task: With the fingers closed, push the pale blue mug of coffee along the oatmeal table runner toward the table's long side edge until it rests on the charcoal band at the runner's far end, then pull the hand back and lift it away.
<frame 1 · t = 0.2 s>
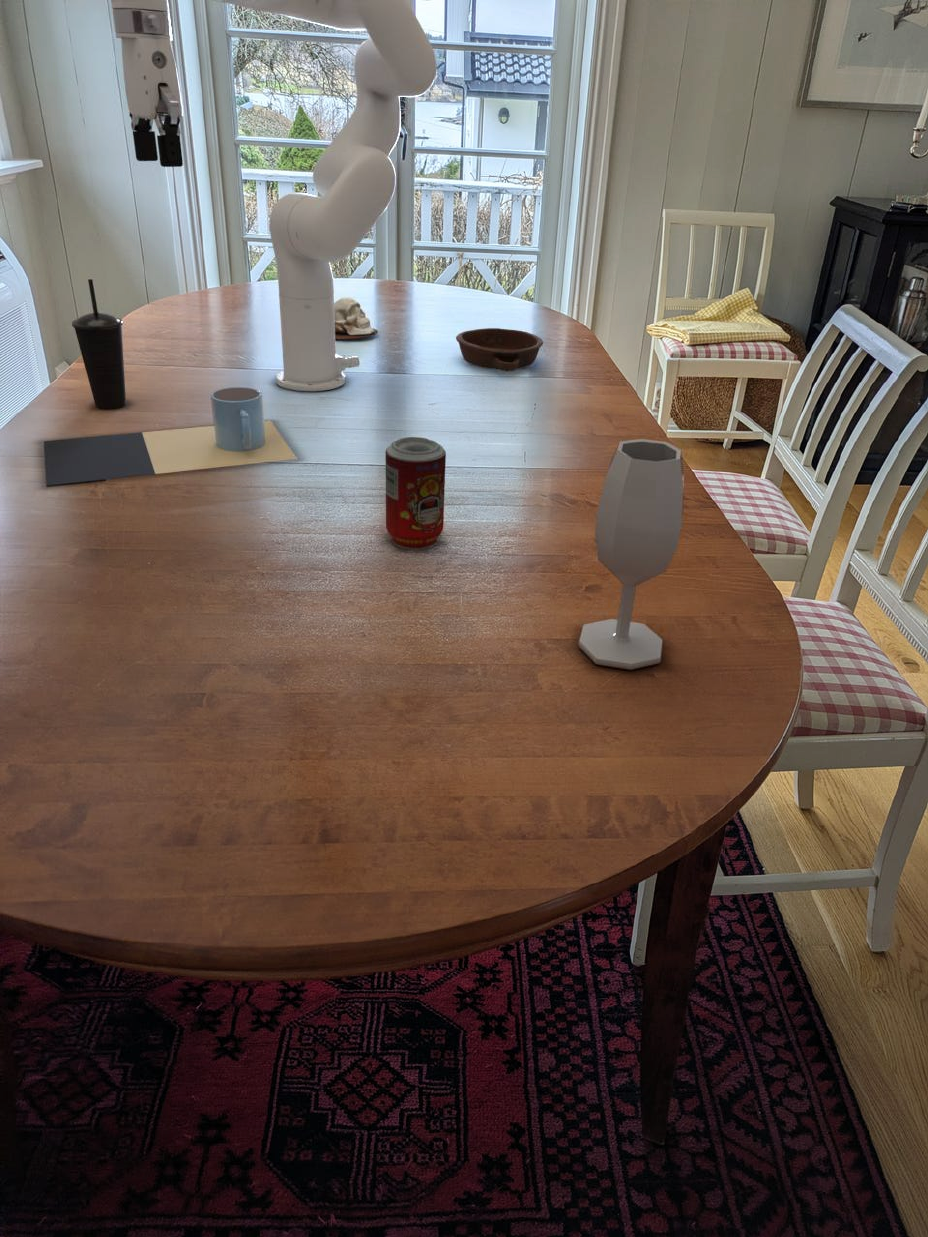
hand: (159, 163, 135), 36 cm above the table, tool pointing down, fingers open, 9 cm apart
wineglass: (619, 649, 92), on the table
skull: (350, 335, 199), on the table
drinking cup: (111, 406, 151), on the table
mug: (240, 442, 138), resting on runner
dish: (498, 363, 183), on the table
runner: (169, 451, 134), on the table
soda can: (414, 541, 112), on the table
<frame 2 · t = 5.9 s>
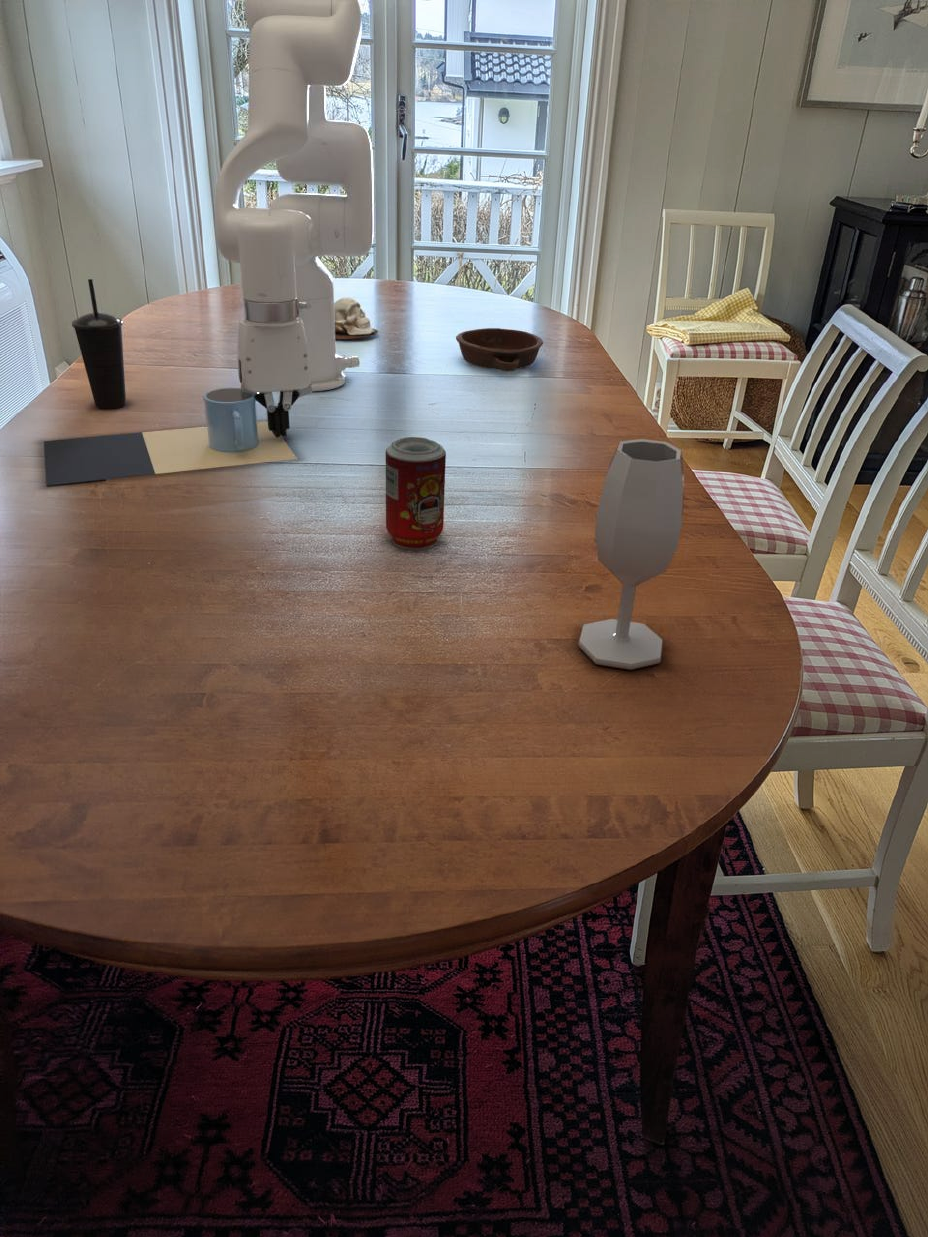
hand: (279, 433, 139), 1 cm above the table, tool pointing down, fingers closed
mug: (234, 443, 137), resting on runner
everything else where it was.
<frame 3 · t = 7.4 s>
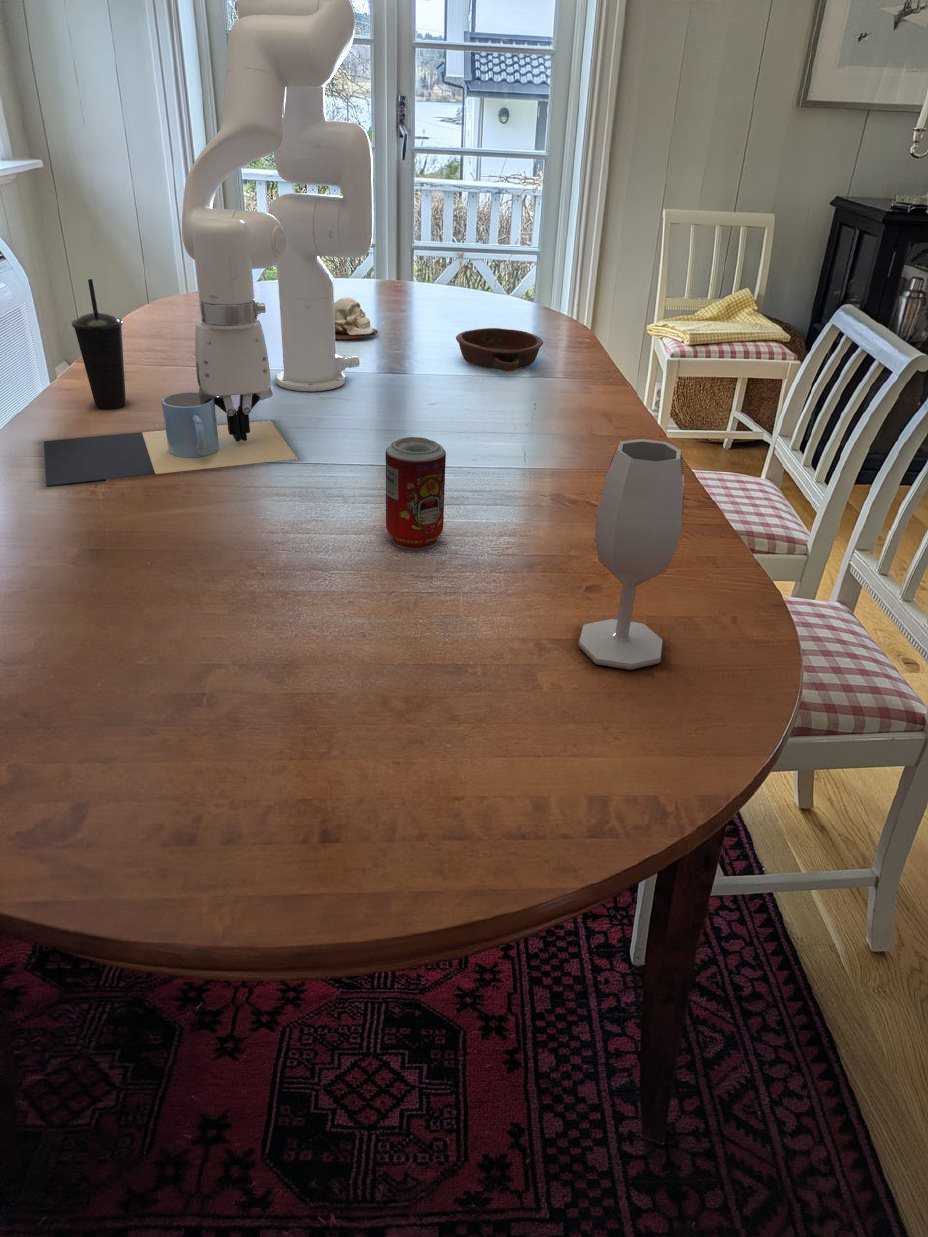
hand: (239, 437, 137), 1 cm above the table, tool pointing down, fingers closed
mug: (194, 448, 135), resting on runner, touching gripper
everything else where it was.
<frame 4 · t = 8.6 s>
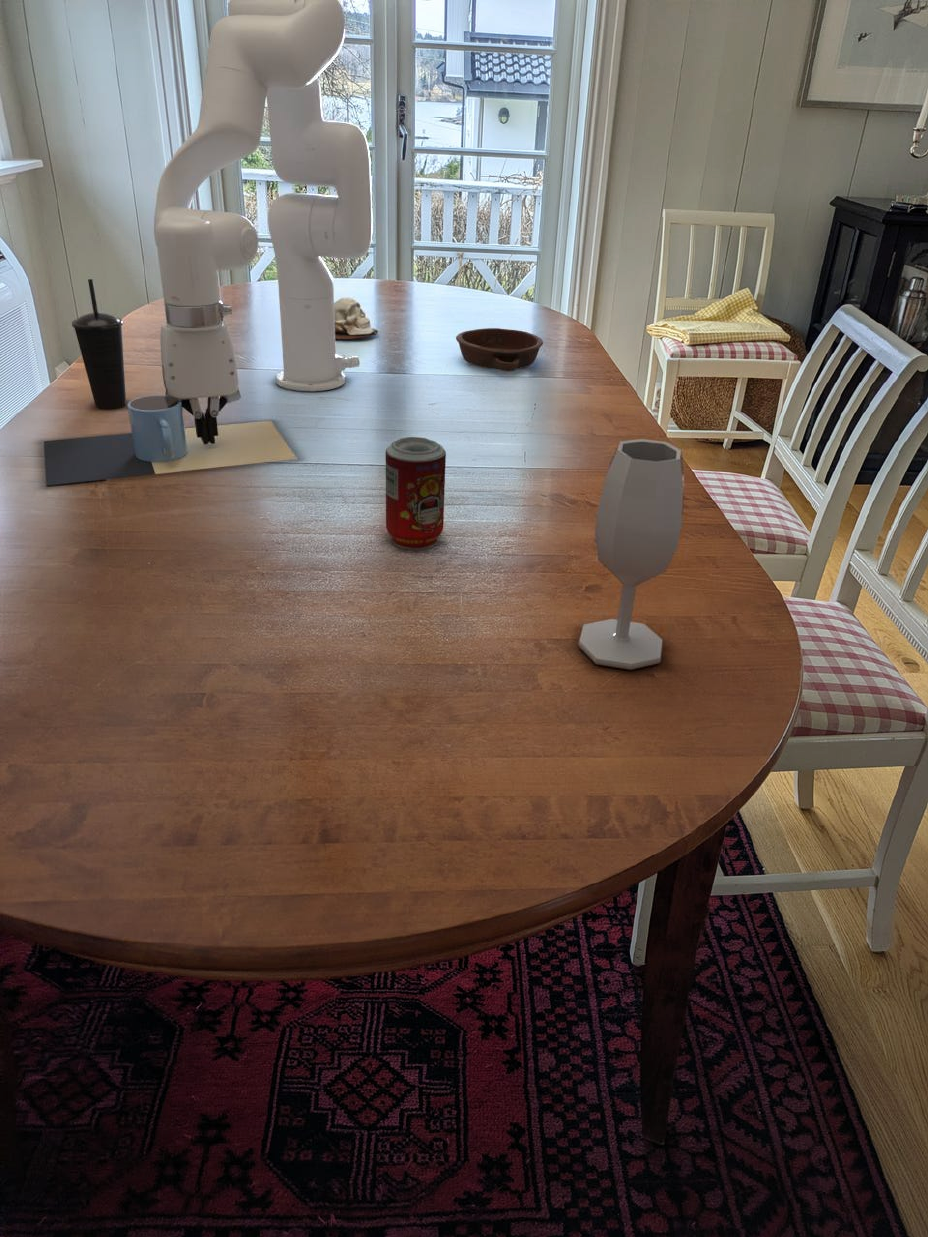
hand: (207, 440, 136), 1 cm above the table, tool pointing down, fingers closed
mug: (161, 453, 133), resting on runner, touching gripper
everything else where it was.
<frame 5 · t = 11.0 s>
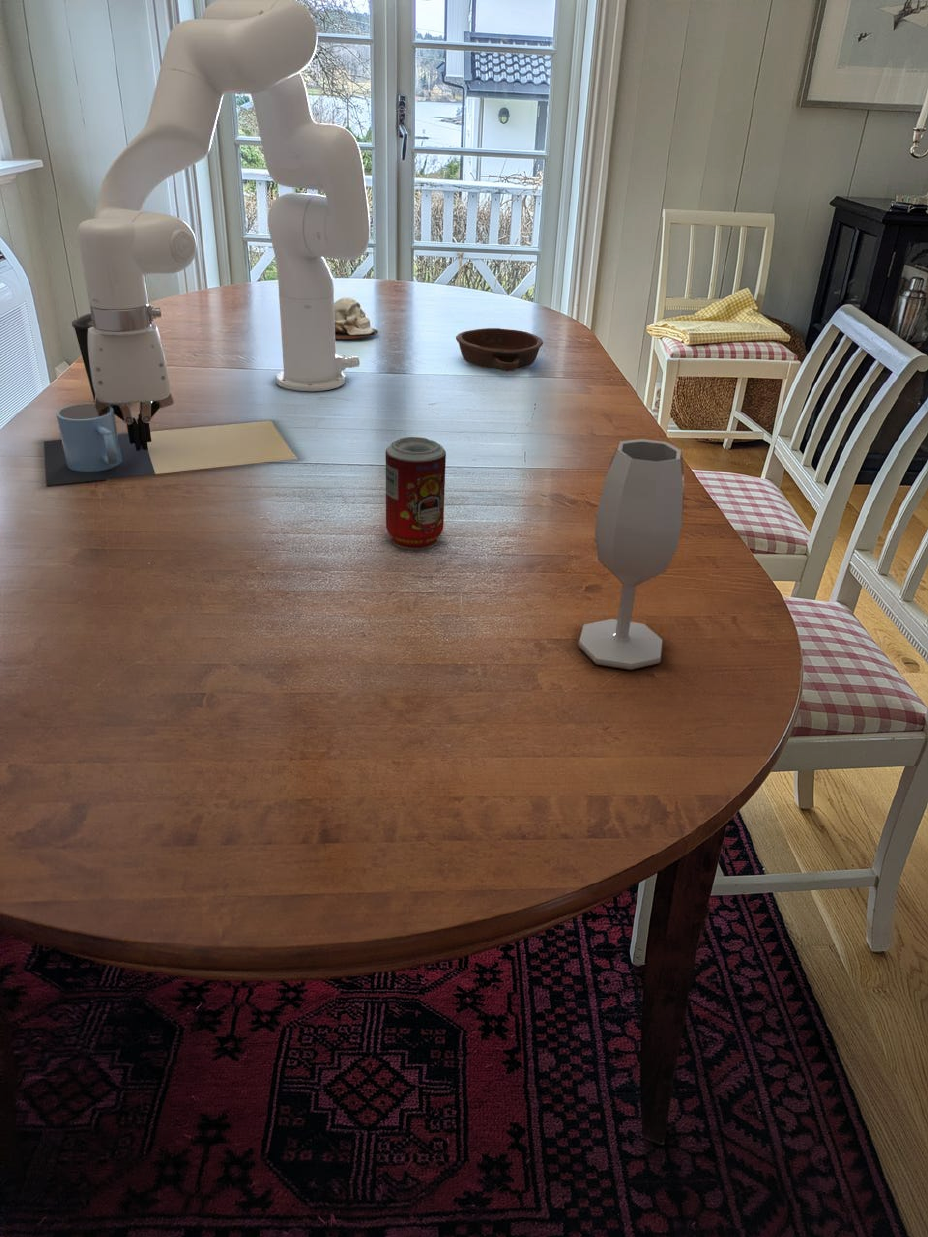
hand: (141, 446, 132), 1 cm above the table, tool pointing down, fingers closed
mug: (94, 462, 129), resting on runner, touching gripper
everything else where it was.
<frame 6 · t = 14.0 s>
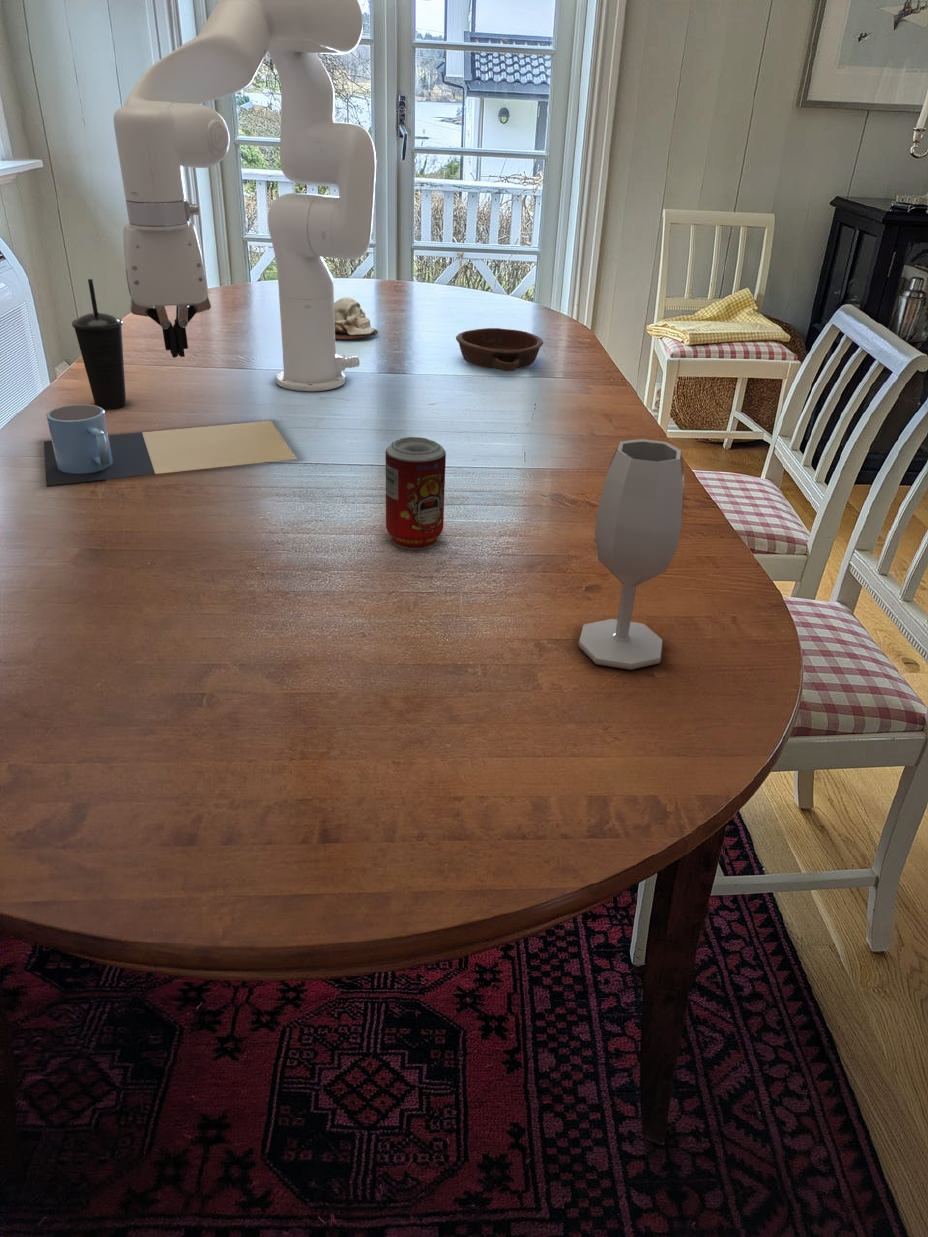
hand: (177, 354, 129), 14 cm above the table, tool pointing down, fingers closed
mug: (85, 464, 128), resting on runner
everything else where it was.
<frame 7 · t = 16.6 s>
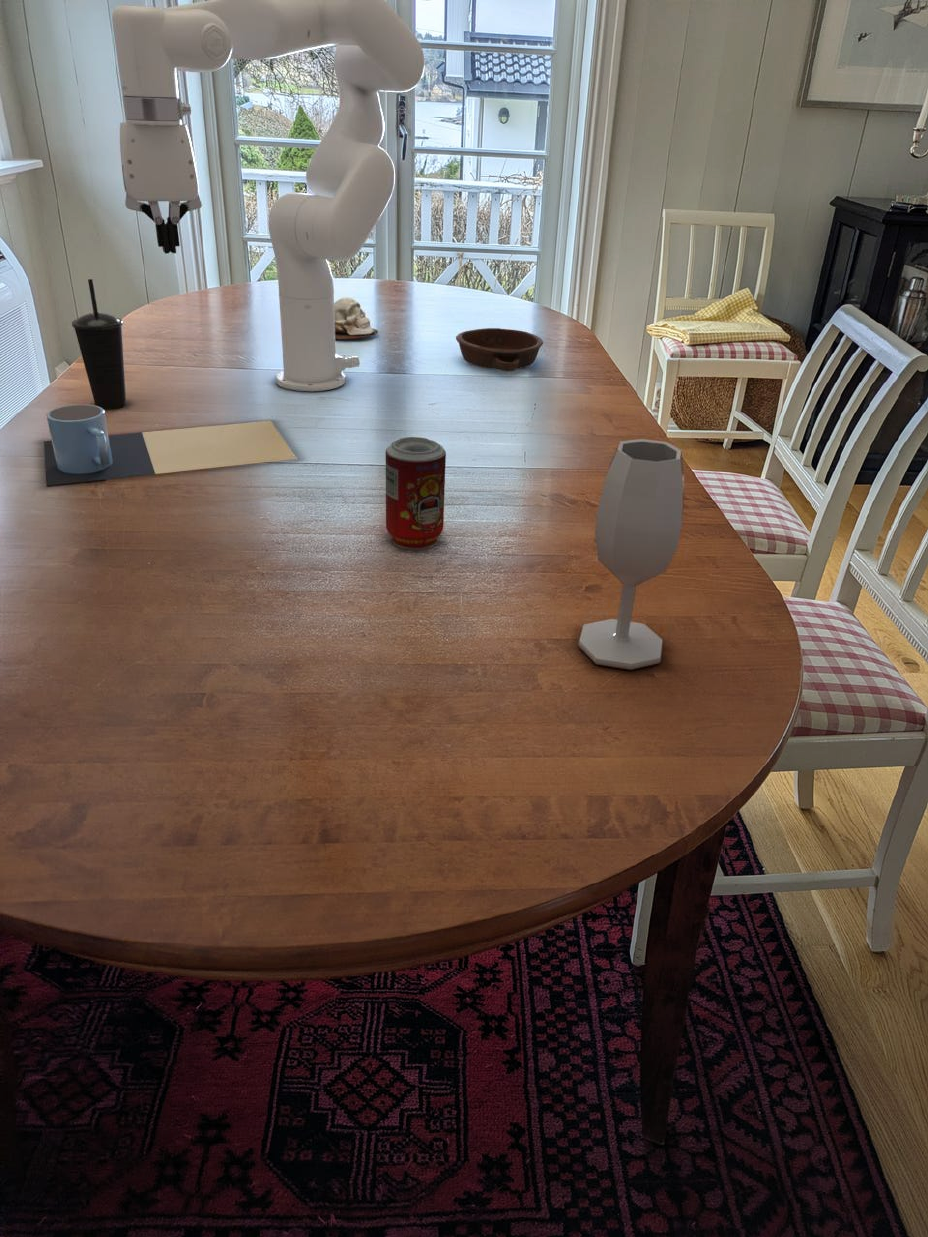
hand: (169, 251, 136), 25 cm above the table, tool pointing down, fingers closed
nothing on the table moved.
at the end: mug inside the target area (3.4 cm from its centre), resting on runner; mug tilted 0°; mug moved 22.4 cm from its start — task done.
